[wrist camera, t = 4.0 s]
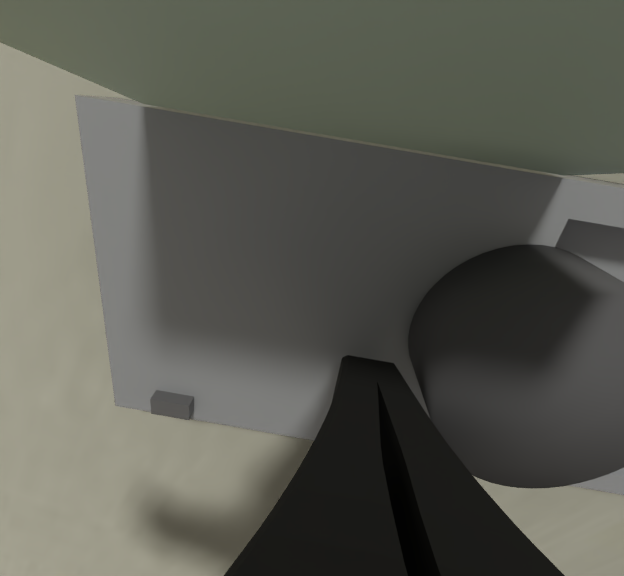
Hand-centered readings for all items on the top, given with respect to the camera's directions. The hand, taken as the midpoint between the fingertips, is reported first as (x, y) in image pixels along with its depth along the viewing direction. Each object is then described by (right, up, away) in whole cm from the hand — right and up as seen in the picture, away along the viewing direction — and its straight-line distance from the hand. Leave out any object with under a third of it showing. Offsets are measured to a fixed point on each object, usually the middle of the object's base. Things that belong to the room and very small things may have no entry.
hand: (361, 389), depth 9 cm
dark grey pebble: (+4, +1, 0) cm, 4 cm away
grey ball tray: (+3, +2, +2) cm, 4 cm away
